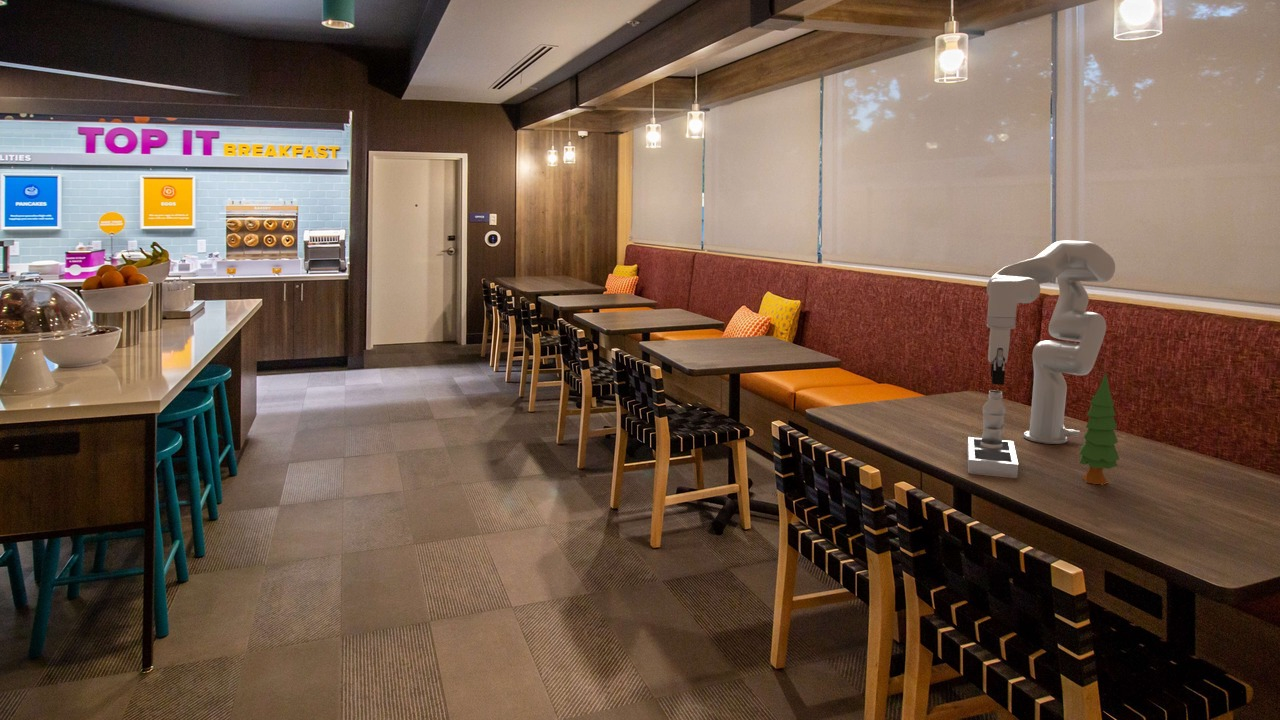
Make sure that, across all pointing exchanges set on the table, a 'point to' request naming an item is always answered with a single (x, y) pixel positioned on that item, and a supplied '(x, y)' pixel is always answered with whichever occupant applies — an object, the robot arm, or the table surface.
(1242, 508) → the table surface
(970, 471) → the white flat box
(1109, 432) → the decorative tree
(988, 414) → the plastic bottle
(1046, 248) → the robot arm
